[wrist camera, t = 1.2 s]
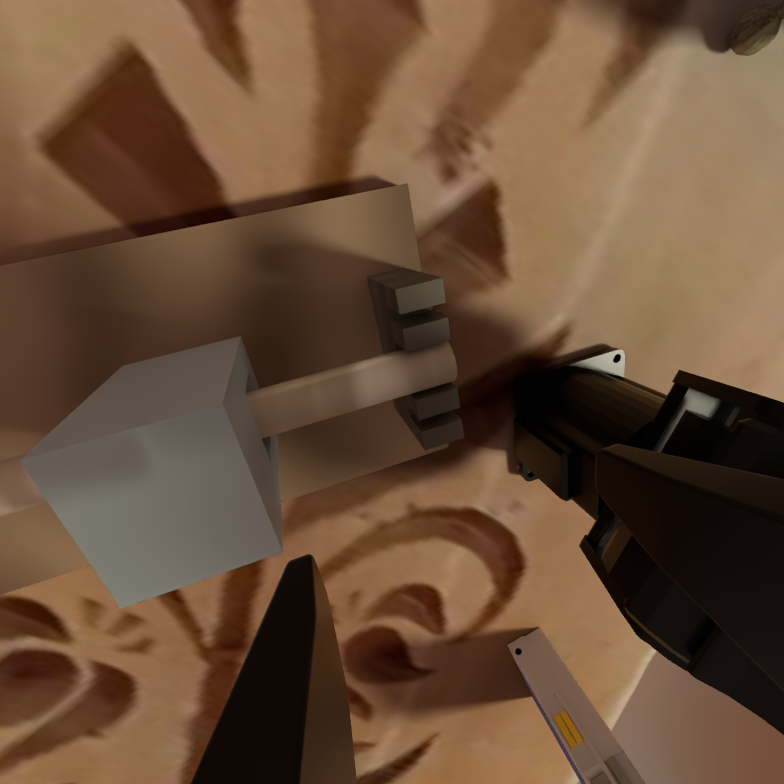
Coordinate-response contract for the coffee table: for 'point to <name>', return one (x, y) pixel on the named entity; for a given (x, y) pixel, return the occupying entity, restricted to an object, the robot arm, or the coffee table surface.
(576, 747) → the walkman
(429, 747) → the coffee table surface
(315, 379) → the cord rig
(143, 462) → the sleeve
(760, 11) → the tabletop clock
